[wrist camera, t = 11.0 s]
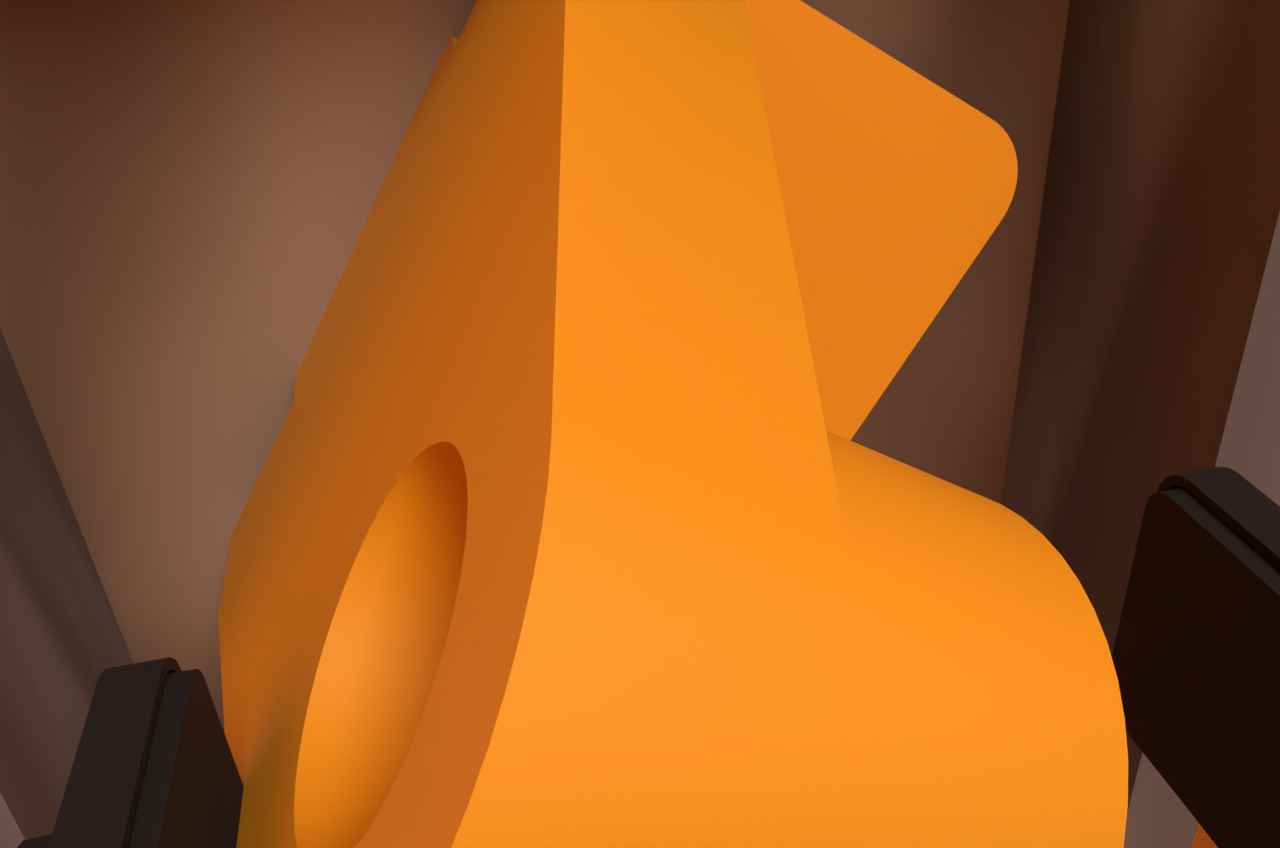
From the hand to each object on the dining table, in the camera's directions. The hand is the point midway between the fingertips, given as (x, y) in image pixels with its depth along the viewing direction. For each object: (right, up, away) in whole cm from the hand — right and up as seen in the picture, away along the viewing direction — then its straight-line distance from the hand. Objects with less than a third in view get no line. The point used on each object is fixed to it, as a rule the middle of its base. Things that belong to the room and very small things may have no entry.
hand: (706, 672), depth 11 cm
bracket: (-2, +4, +7) cm, 8 cm away
